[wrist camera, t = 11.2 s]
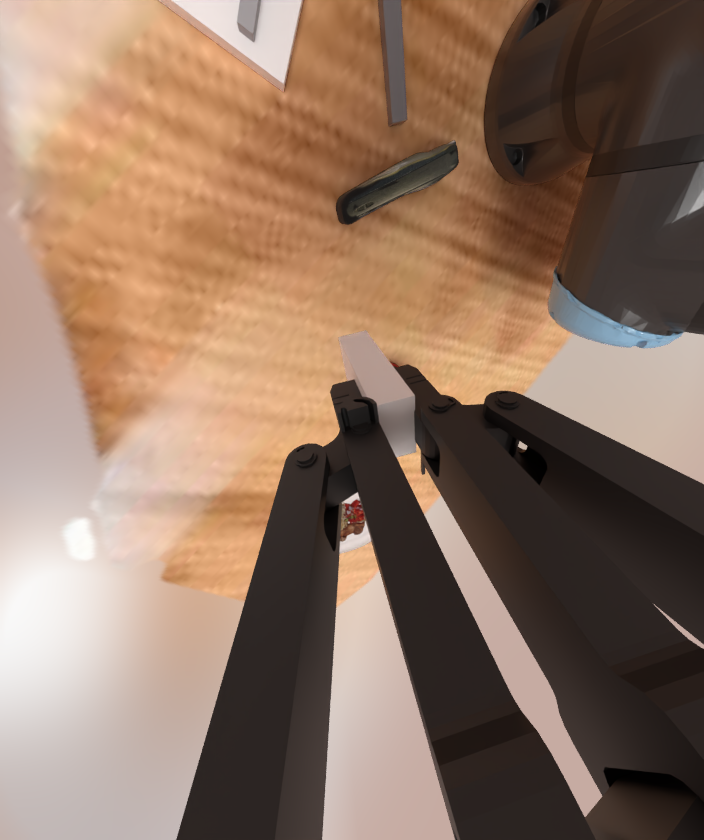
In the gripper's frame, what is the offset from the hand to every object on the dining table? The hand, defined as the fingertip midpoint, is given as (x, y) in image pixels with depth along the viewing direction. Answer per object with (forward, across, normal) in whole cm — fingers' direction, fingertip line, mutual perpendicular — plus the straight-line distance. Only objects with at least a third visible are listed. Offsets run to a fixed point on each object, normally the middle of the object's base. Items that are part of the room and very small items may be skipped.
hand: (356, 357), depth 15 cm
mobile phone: (+27, +12, +7) cm, 30 cm away
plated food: (+27, -8, -56) cm, 63 cm away
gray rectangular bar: (+27, +12, +18) cm, 35 cm away
